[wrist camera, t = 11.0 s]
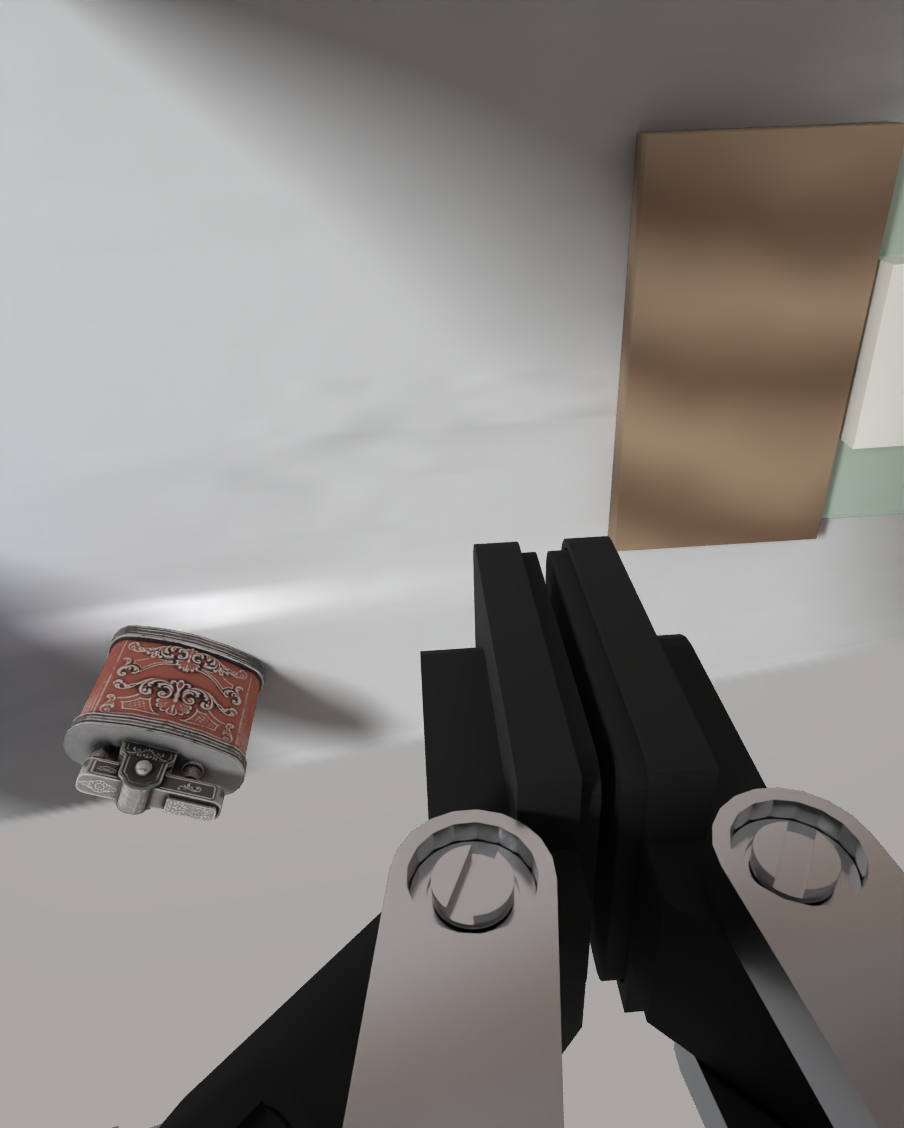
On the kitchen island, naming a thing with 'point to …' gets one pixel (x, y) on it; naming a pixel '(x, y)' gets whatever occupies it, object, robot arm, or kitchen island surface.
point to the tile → (879, 365)
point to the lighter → (166, 723)
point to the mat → (882, 472)
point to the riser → (743, 326)
